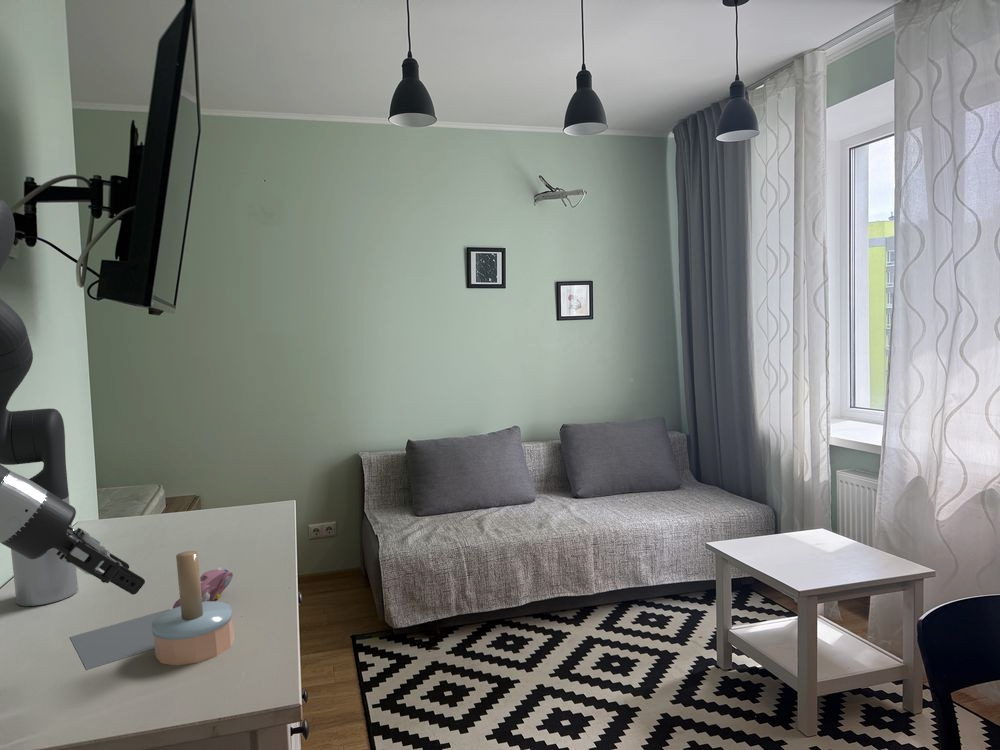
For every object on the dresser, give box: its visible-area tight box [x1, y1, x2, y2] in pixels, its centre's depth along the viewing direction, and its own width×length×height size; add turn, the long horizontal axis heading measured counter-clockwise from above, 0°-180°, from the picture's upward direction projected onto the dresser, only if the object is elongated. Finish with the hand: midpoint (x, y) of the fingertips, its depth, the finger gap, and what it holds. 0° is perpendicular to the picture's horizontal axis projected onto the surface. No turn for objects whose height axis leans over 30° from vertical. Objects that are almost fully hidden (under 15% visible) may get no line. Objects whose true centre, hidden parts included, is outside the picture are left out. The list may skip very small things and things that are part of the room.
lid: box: [152, 550, 233, 640], centre depth 99 cm, size 10×10×10 cm
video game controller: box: [172, 566, 234, 609], centre depth 116 cm, size 10×5×7 cm, turn 168°
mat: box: [69, 608, 171, 671], centre depth 104 cm, size 14×14×1 cm
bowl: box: [154, 613, 236, 666], centre depth 99 cm, size 10×10×4 cm
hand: (132, 579), depth 94 cm, fingers open, 8 cm apart
